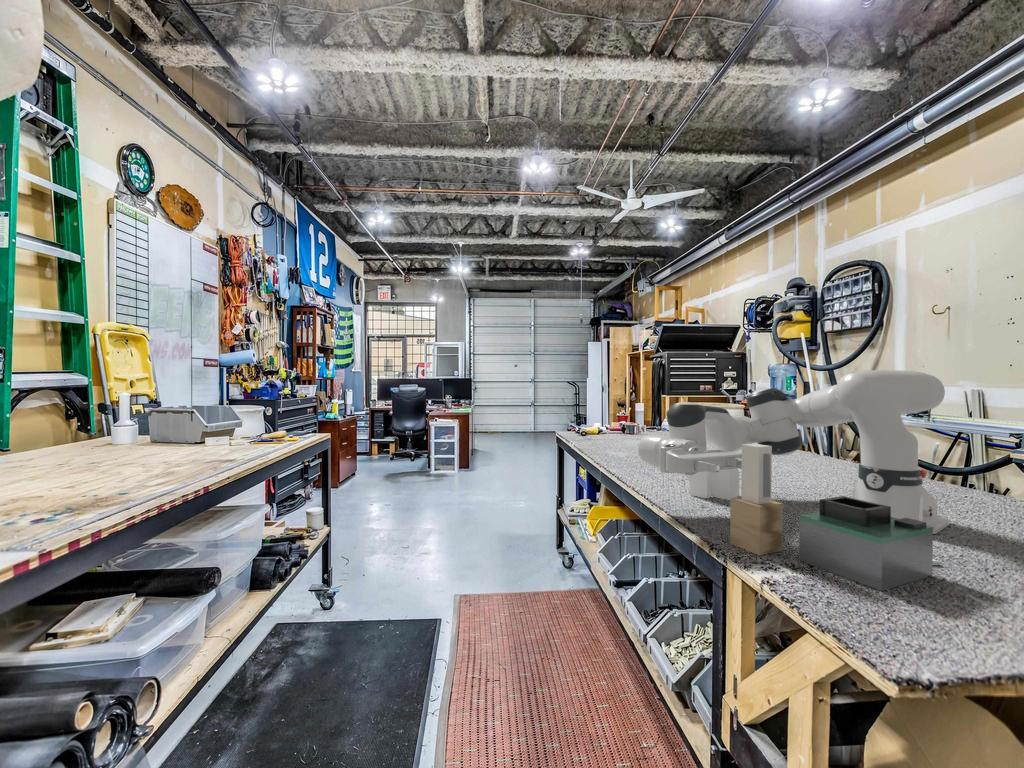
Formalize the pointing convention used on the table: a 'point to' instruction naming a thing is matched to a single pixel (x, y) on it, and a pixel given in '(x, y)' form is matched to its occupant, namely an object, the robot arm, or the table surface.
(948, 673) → the table surface
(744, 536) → the parts stand
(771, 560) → the table surface
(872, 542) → the green-topped socket block
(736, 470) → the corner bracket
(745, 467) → the keyed plug
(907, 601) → the table surface
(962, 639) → the table surface
